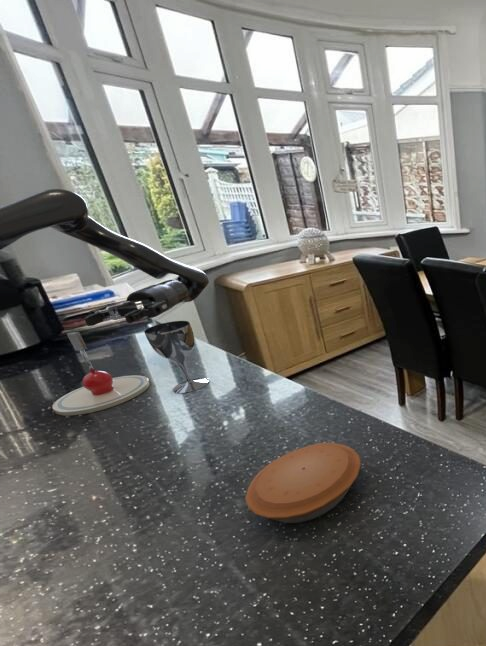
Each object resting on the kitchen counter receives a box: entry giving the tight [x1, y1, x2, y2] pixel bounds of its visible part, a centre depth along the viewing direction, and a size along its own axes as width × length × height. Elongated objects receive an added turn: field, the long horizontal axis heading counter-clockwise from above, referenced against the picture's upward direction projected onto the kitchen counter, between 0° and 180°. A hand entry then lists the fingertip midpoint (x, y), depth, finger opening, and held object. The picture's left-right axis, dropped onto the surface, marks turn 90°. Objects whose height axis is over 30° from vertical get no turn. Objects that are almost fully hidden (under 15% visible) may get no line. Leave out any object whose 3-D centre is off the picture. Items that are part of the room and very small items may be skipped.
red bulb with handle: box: [66, 331, 114, 395], centre depth 87 cm, size 5×5×14 cm
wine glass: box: [143, 320, 210, 394], centre depth 90 cm, size 8×8×15 cm
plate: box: [51, 374, 151, 417], centre depth 90 cm, size 16×16×1 cm
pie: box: [244, 442, 362, 524], centre depth 59 cm, size 15×16×5 cm
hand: (107, 320), depth 93 cm, fingers open, 8 cm apart
